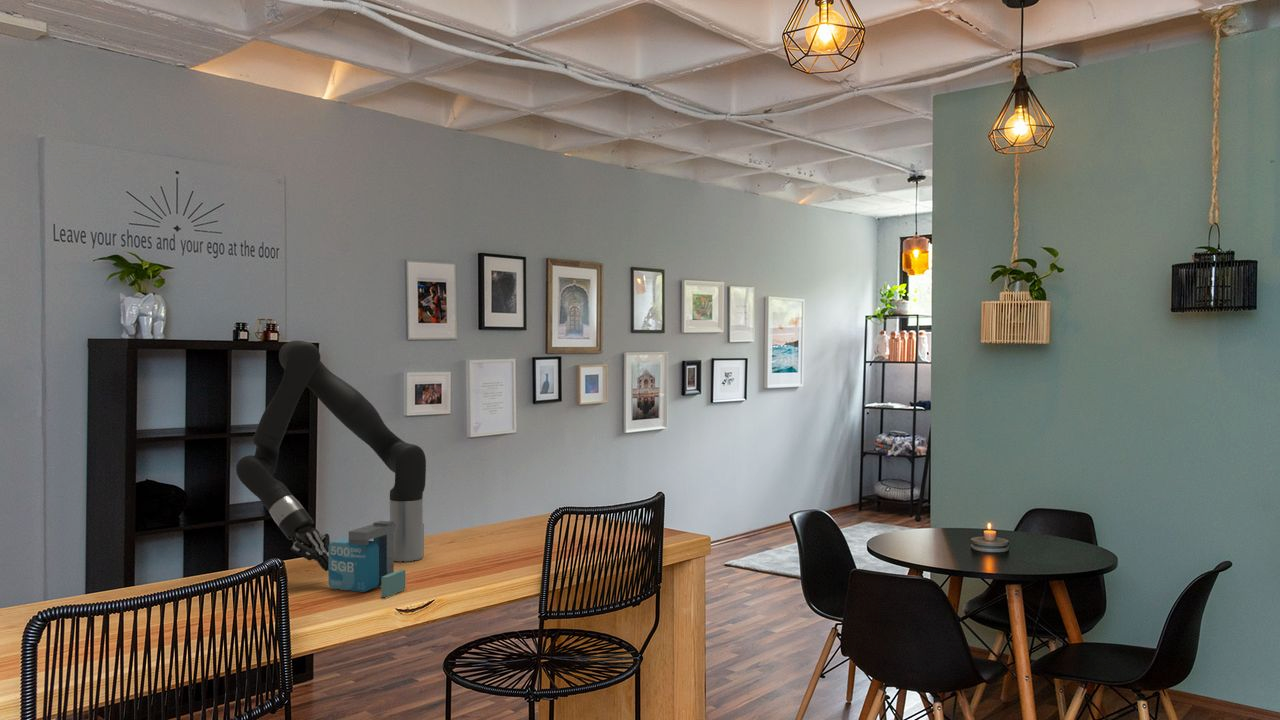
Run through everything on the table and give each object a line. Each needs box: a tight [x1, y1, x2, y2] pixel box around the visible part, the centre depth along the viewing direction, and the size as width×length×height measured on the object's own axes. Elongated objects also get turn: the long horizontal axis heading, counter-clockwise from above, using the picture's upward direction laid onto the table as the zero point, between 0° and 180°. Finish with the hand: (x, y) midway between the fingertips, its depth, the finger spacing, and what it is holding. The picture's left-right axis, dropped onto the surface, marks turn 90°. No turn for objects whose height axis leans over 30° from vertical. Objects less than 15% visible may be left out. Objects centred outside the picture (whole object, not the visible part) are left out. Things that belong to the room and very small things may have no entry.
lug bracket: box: [348, 520, 395, 587], centre depth 237 cm, size 14×7×16 cm, turn 161°
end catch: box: [380, 569, 406, 598], centre depth 232 cm, size 8×2×5 cm, turn 161°
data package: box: [327, 538, 379, 593], centre depth 236 cm, size 12×4×12 cm, turn 71°
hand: (330, 568), depth 238 cm, fingers closed
